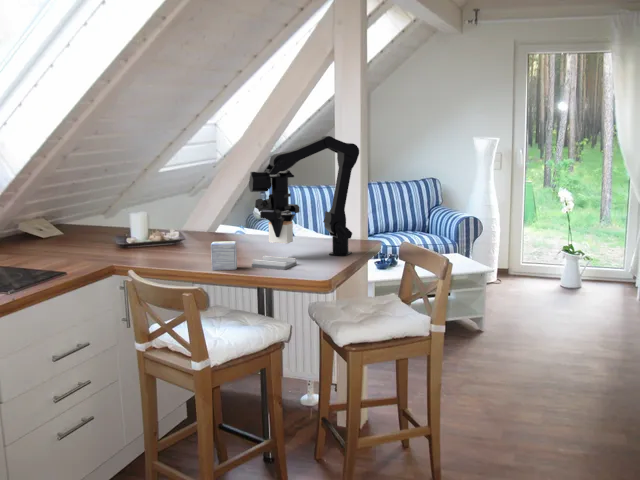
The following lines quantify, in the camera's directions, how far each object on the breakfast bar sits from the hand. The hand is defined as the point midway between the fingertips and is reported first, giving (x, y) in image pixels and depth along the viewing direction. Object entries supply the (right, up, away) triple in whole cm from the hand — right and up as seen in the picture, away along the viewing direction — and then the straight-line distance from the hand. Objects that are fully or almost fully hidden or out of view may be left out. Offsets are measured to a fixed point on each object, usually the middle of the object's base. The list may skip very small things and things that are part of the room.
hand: (280, 236), depth 234 cm
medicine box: (-18, -11, -14) cm, 25 cm away
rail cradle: (-2, -10, -10) cm, 14 cm away
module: (0, -2, 0) cm, 2 cm away
